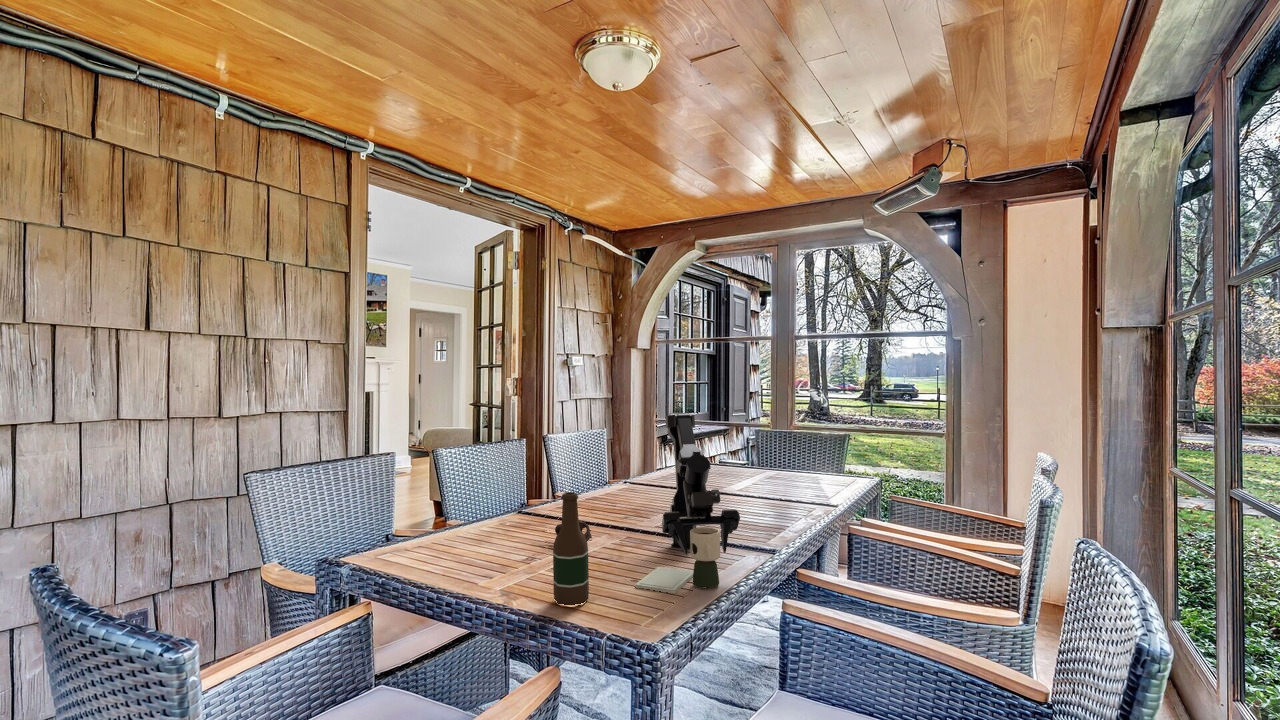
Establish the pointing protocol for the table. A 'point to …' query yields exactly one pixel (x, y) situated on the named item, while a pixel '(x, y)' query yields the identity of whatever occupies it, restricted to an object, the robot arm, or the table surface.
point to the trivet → (665, 579)
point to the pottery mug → (582, 526)
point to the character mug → (705, 556)
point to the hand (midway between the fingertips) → (705, 552)
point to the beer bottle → (570, 556)
